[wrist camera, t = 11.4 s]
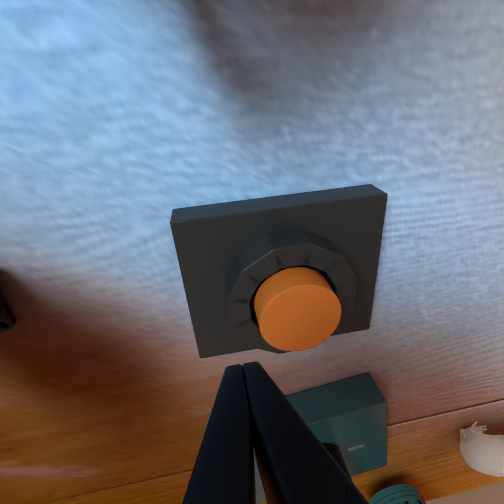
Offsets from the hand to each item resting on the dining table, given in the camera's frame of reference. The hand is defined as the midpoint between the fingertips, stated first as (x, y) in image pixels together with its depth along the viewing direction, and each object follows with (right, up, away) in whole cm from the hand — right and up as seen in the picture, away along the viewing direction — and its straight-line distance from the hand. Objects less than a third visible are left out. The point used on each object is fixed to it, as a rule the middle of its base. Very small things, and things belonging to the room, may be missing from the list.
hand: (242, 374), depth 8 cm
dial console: (+5, -13, +22) cm, 26 cm away
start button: (+3, 0, +10) cm, 10 cm away
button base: (+2, +2, +13) cm, 13 cm away
